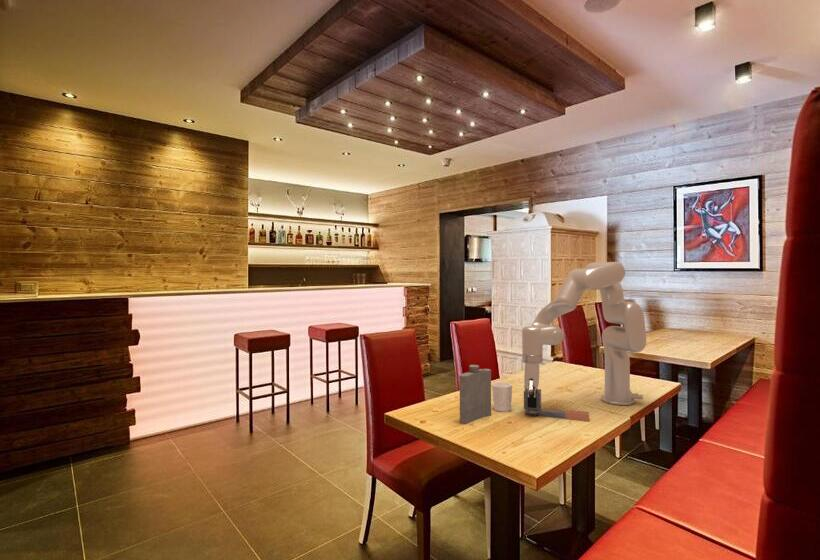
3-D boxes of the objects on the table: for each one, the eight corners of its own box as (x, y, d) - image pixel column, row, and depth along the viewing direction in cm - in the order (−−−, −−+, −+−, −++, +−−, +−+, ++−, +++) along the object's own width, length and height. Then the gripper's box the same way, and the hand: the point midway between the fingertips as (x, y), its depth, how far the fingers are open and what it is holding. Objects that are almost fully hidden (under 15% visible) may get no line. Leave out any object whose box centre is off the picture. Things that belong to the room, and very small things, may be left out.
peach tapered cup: (488, 407, 170) (488, 383, 170) (505, 405, 173) (504, 381, 173) (499, 413, 163) (499, 387, 162) (516, 410, 165) (516, 385, 165)
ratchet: (588, 417, 157) (588, 402, 157) (589, 422, 152) (589, 406, 152) (526, 410, 165) (525, 396, 165) (524, 415, 160) (524, 400, 160)
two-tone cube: (541, 405, 163) (541, 389, 163) (540, 410, 158) (540, 393, 158) (525, 404, 165) (525, 388, 165) (523, 409, 160) (523, 392, 160)
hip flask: (464, 424, 151) (463, 369, 151) (456, 421, 154) (455, 367, 154) (493, 414, 161) (492, 363, 161) (484, 412, 164) (484, 361, 164)
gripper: (524, 353, 171) (525, 397, 171) (519, 362, 154) (520, 410, 155) (543, 354, 168) (544, 399, 168) (541, 363, 152) (541, 412, 152)
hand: (532, 404), depth 161 cm, fingers closed on two-tone cube, 6 cm apart
